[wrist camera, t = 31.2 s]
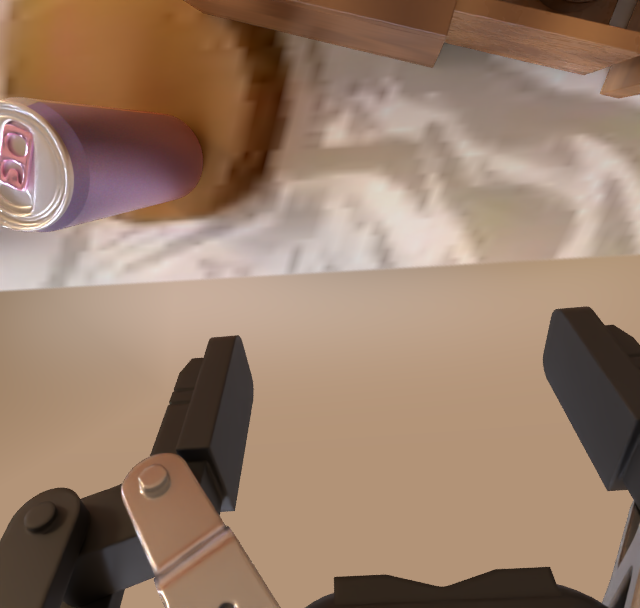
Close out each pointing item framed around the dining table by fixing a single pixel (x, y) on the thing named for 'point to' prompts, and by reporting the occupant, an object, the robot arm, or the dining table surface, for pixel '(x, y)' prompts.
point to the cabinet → (350, 23)
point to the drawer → (554, 38)
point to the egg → (568, 4)
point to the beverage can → (89, 162)
